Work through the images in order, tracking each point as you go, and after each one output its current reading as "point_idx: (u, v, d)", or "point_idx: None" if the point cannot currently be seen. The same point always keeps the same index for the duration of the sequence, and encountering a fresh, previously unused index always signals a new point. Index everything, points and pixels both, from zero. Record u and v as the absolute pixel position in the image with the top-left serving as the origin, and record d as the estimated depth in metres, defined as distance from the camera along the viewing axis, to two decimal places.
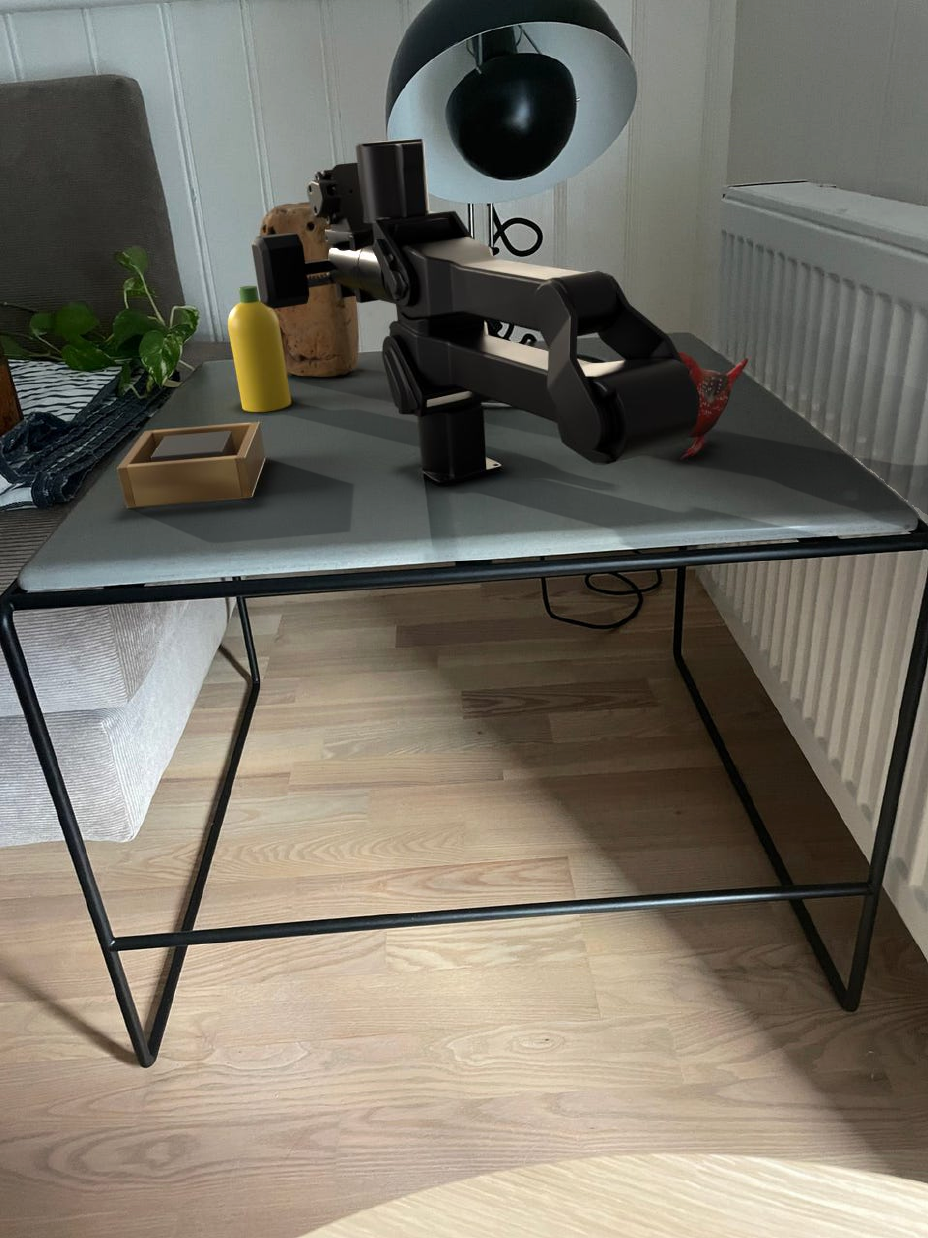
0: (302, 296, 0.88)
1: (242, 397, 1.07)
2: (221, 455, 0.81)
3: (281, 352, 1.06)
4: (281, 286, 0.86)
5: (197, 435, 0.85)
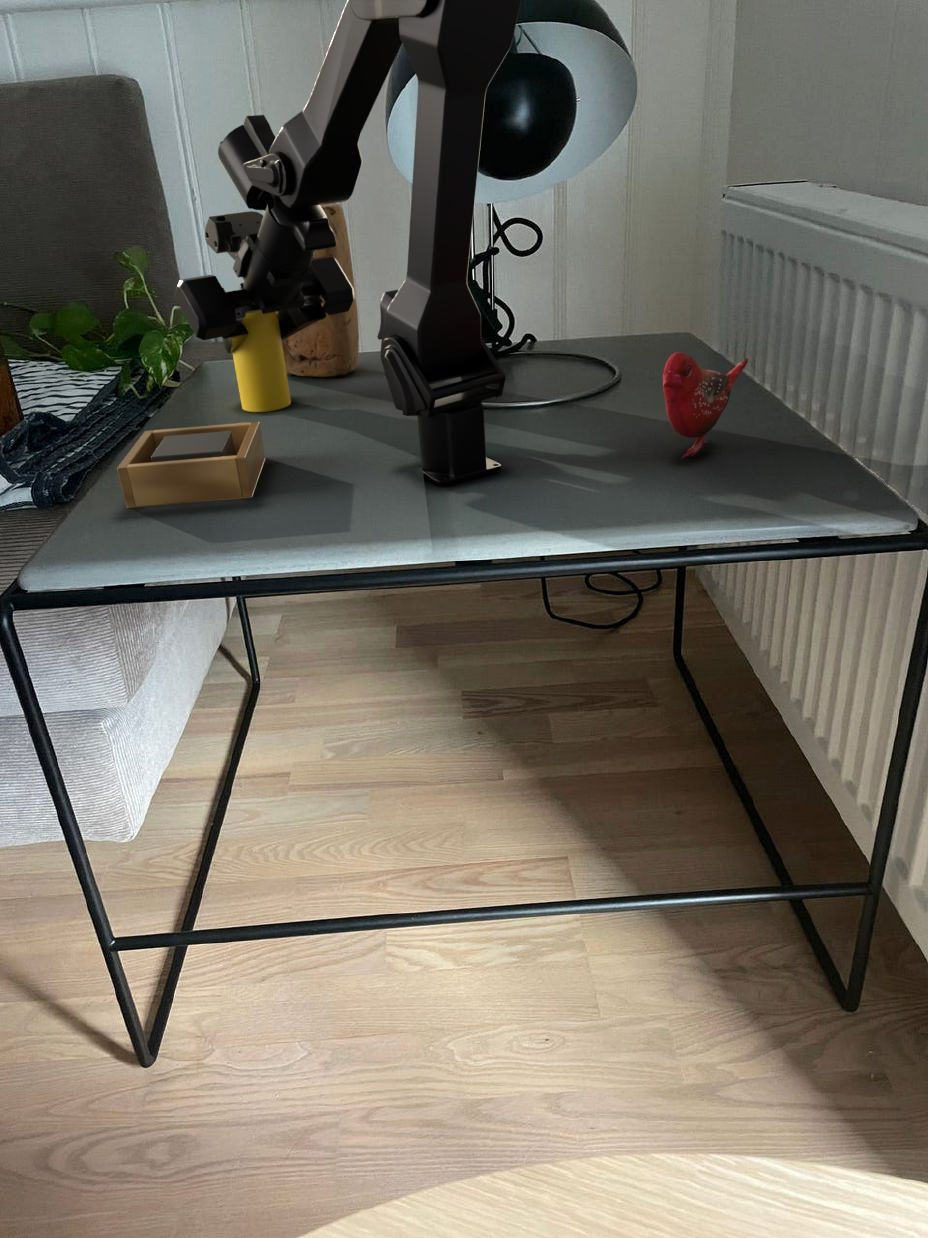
0: (228, 312, 0.95)
1: (242, 397, 1.07)
2: (221, 455, 0.81)
3: (281, 352, 1.06)
4: (206, 305, 0.94)
5: (197, 435, 0.85)
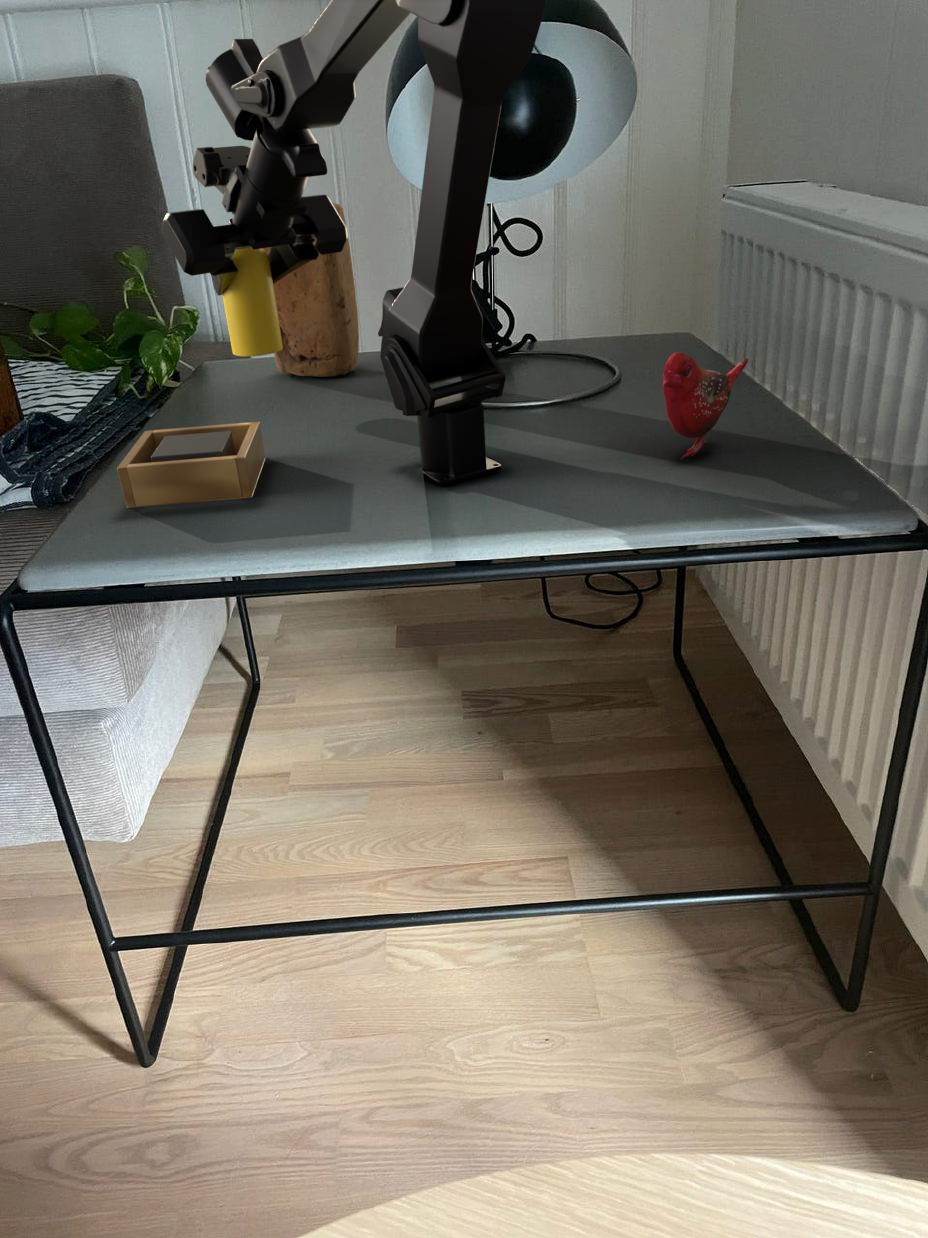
0: (217, 246, 0.92)
1: (232, 341, 1.04)
2: (221, 455, 0.81)
3: (272, 294, 1.03)
4: (193, 238, 0.91)
5: (197, 435, 0.85)
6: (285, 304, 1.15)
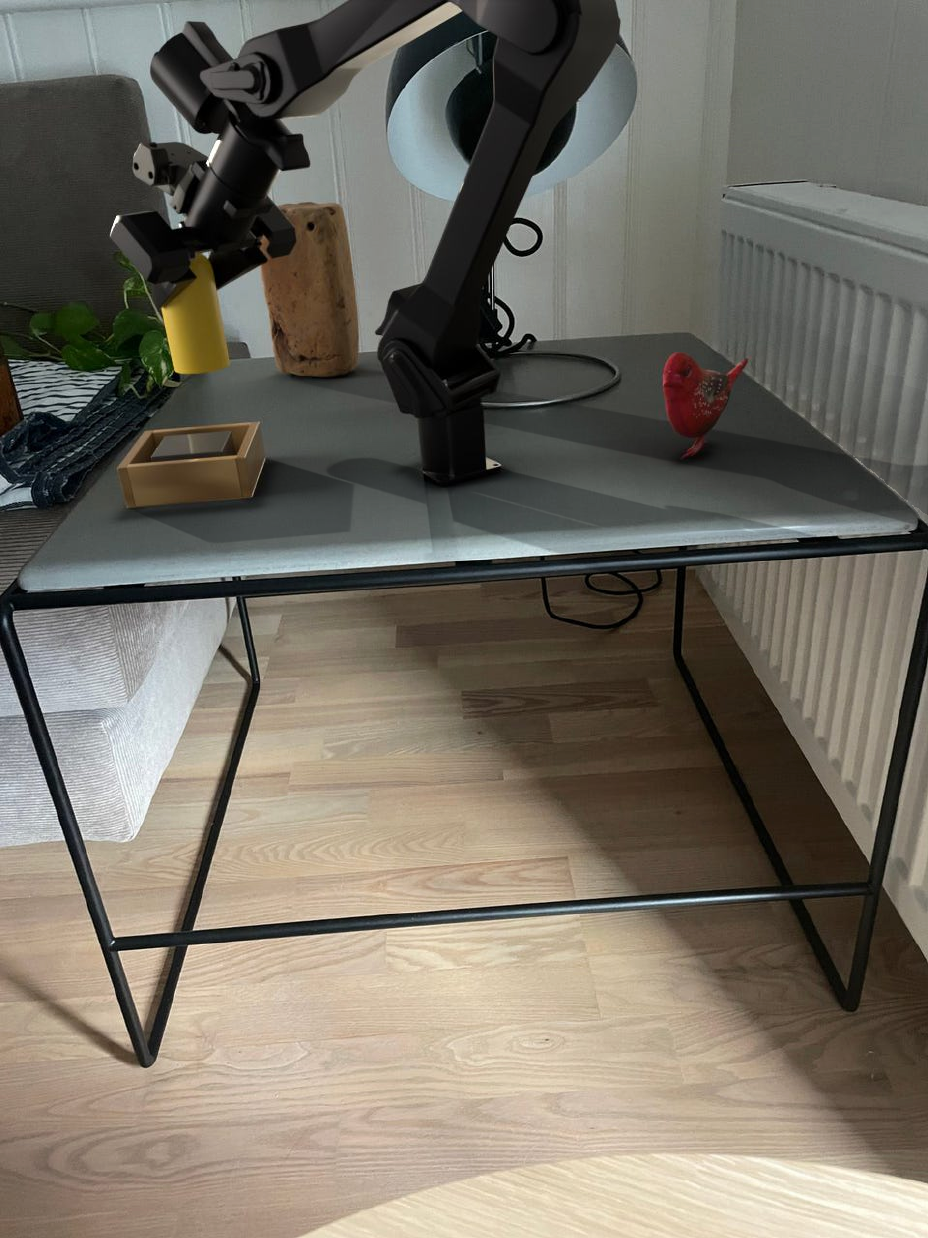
0: (182, 250, 0.83)
1: (178, 358, 0.94)
2: (221, 455, 0.81)
3: (218, 304, 0.94)
4: (157, 242, 0.81)
5: (197, 435, 0.85)
6: (285, 304, 1.15)
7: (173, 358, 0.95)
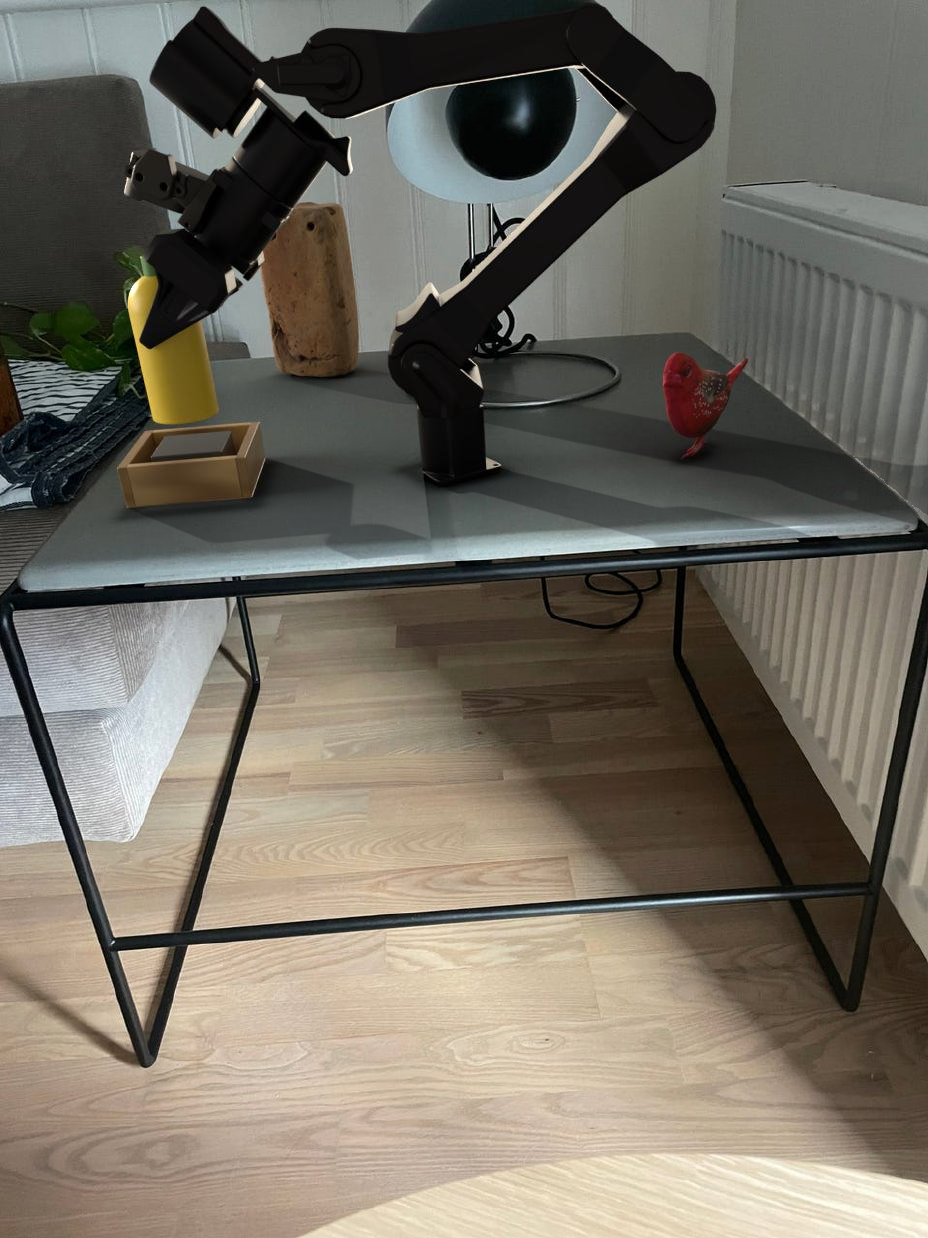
0: (231, 272, 0.71)
1: (174, 406, 0.79)
2: (221, 455, 0.81)
3: None
4: (214, 263, 0.69)
5: (197, 435, 0.85)
6: (285, 304, 1.15)
7: (163, 407, 0.79)
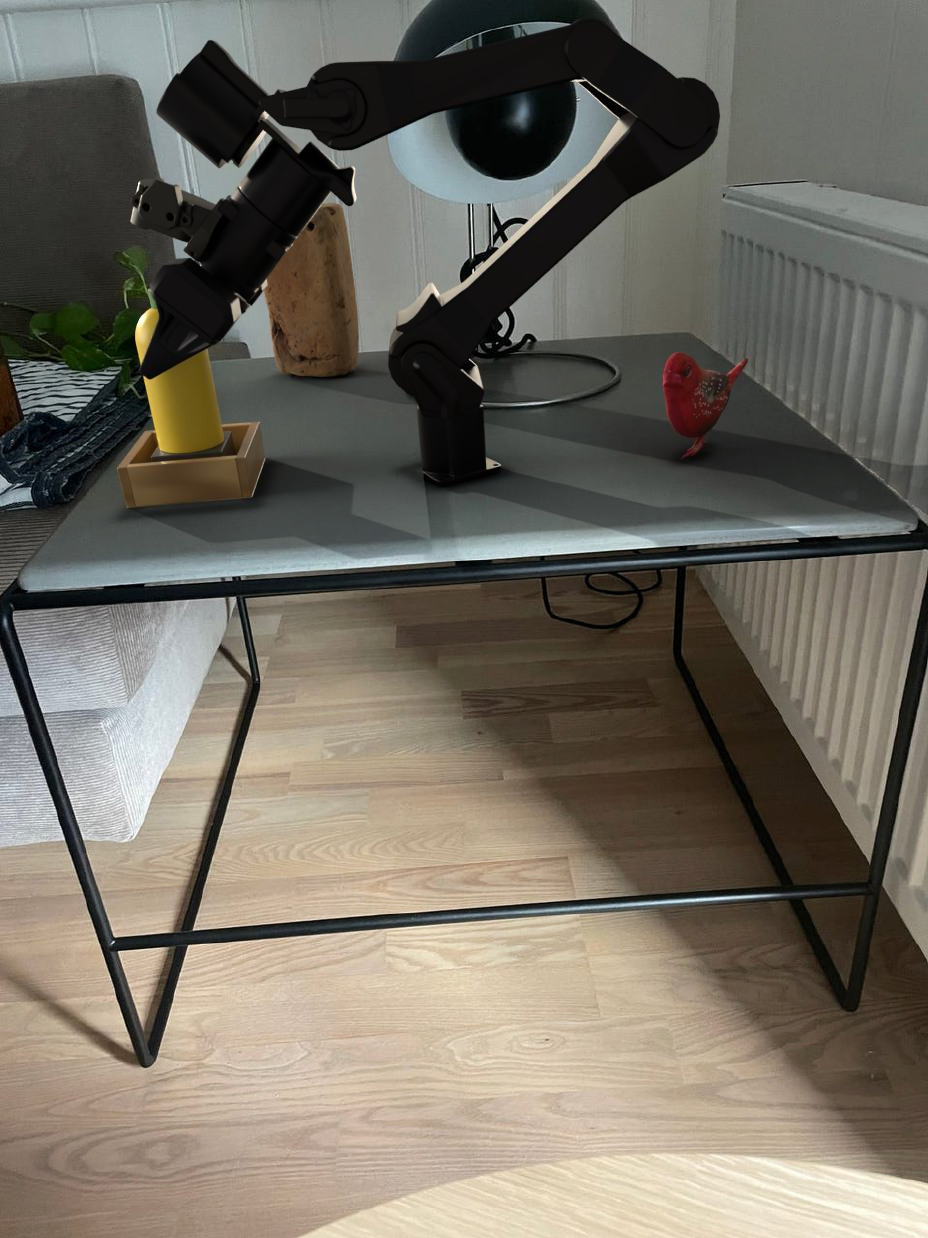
0: (237, 300, 0.72)
1: (180, 435, 0.80)
2: (221, 455, 0.81)
3: None
4: (220, 293, 0.70)
5: None
6: (285, 304, 1.15)
7: (169, 437, 0.80)
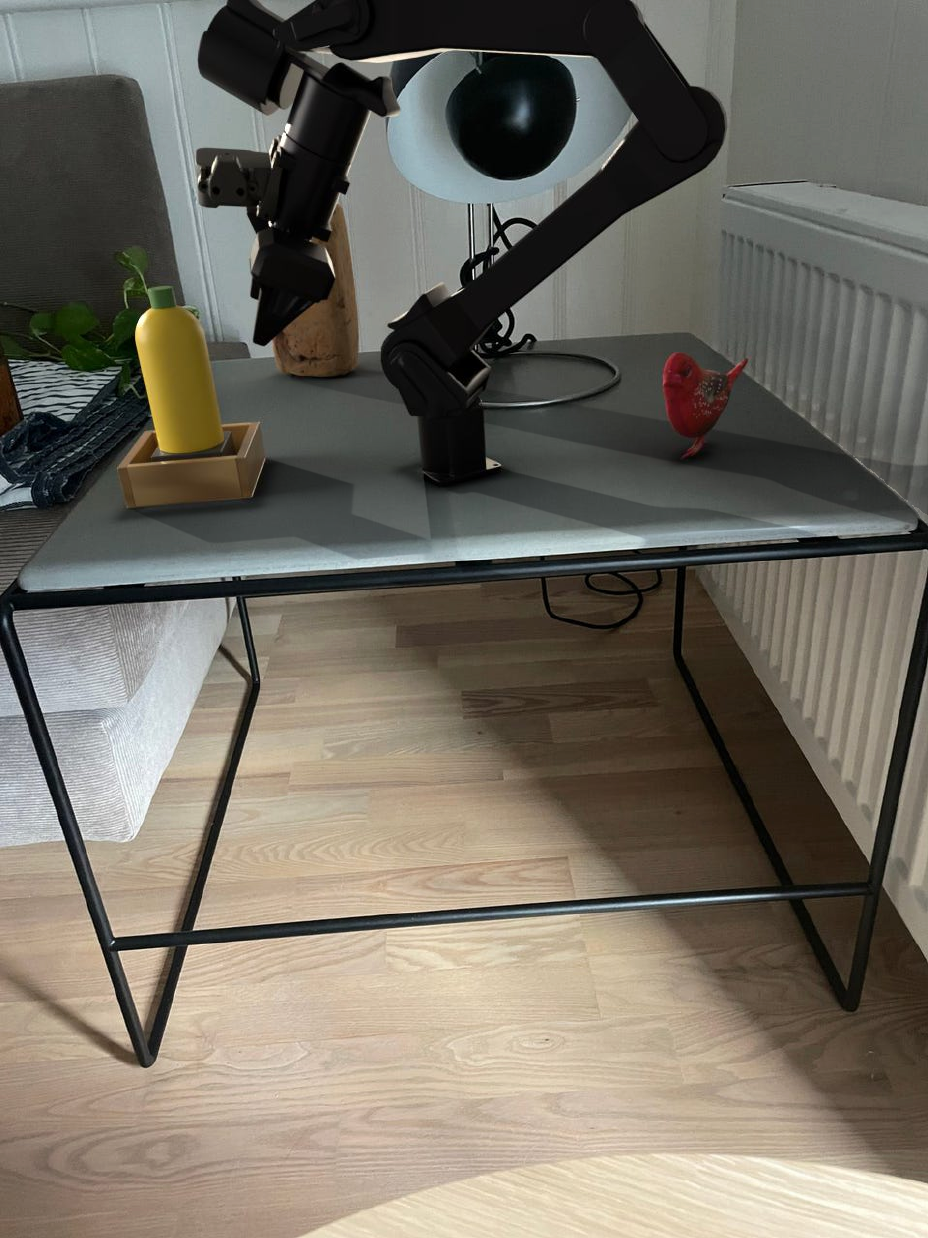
0: (326, 252, 0.75)
1: (180, 435, 0.80)
2: (221, 455, 0.81)
3: None
4: (314, 254, 0.73)
5: None
6: None
7: (169, 437, 0.80)
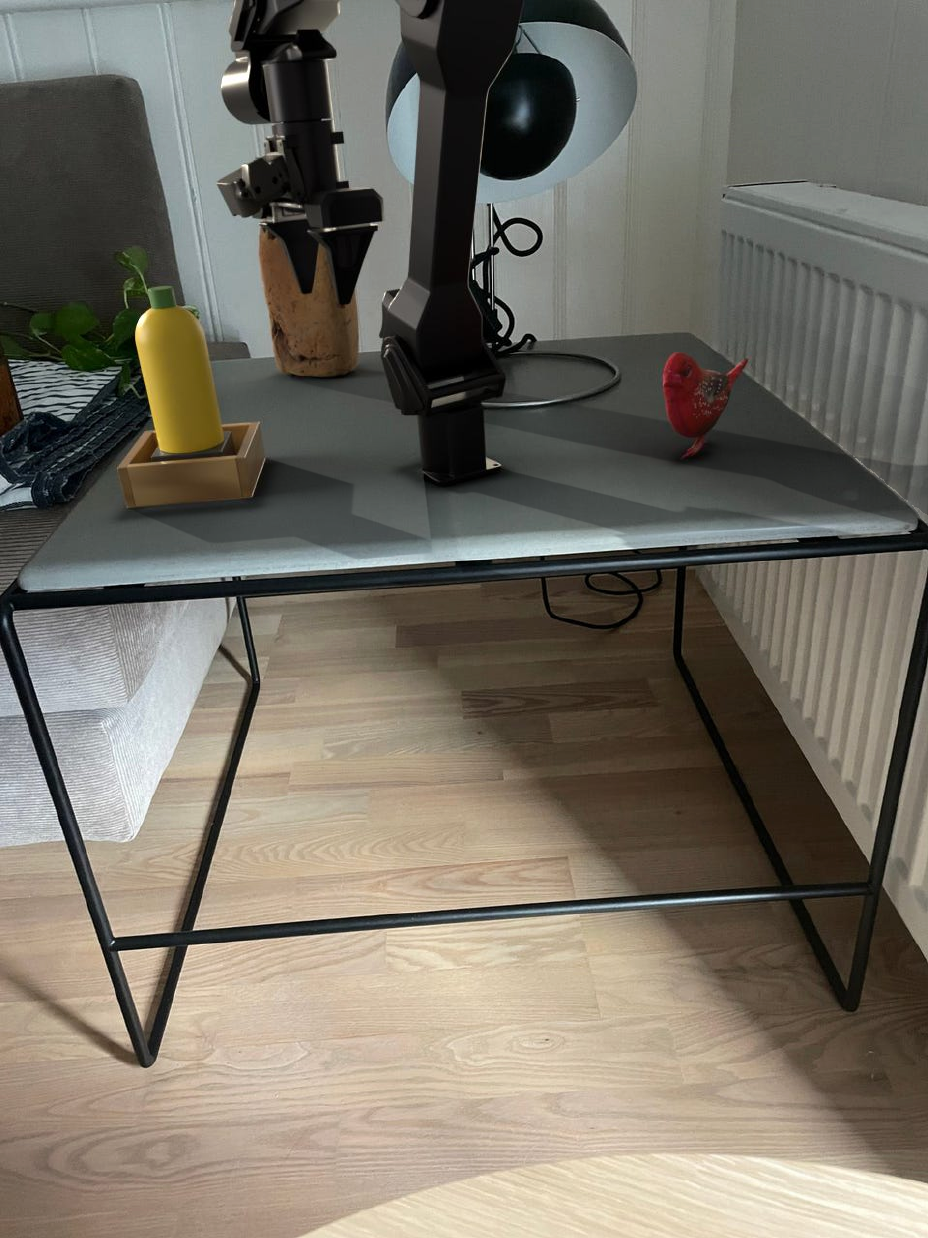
0: (360, 188, 0.85)
1: (180, 435, 0.80)
2: (221, 455, 0.81)
3: None
4: (358, 188, 0.83)
5: None
6: (285, 304, 1.15)
7: (169, 437, 0.80)
